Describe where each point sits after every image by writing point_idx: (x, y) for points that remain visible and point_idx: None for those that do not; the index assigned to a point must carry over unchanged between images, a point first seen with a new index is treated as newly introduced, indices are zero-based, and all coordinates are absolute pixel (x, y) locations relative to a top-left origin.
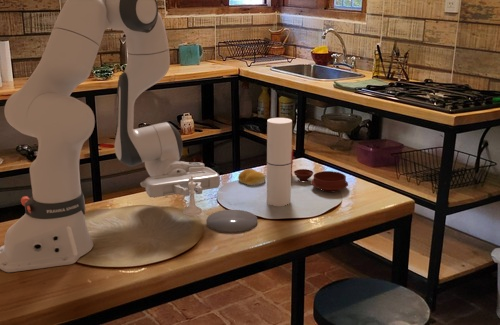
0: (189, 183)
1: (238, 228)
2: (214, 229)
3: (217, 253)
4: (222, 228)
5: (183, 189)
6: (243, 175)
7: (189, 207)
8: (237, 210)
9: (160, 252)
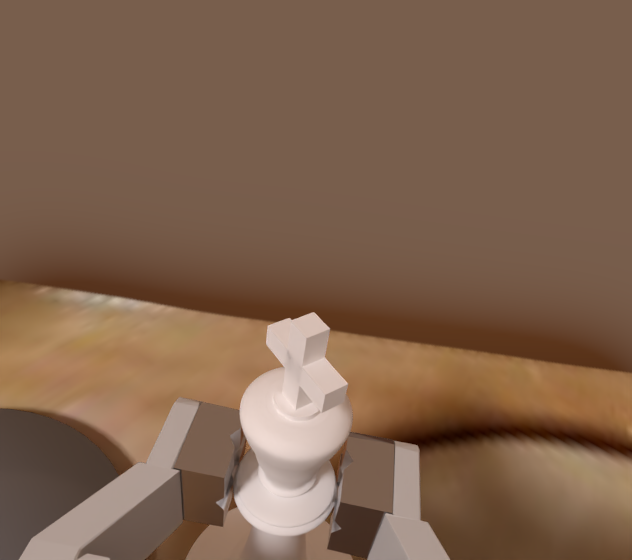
0: (340, 406)
1: (46, 432)
2: None
3: None
4: None
5: (419, 463)
6: None
7: (314, 556)
8: None
9: (554, 515)
